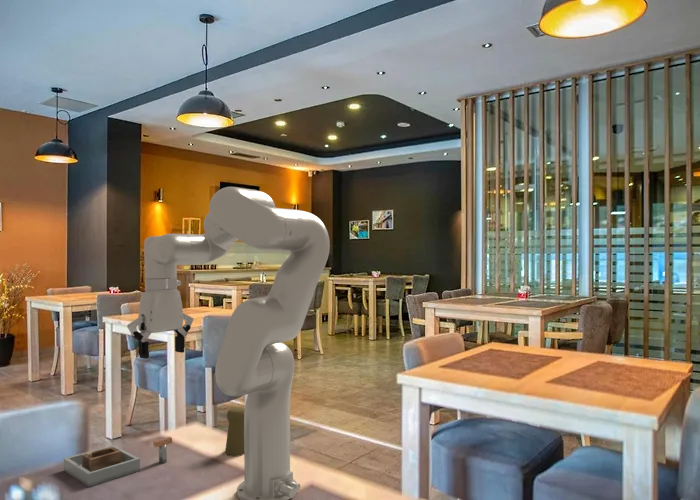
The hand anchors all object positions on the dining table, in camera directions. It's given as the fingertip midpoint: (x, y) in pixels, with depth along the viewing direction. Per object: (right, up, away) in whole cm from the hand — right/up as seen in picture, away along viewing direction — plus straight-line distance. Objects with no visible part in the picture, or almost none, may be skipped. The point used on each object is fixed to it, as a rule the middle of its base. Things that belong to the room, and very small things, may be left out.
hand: (162, 354), depth 131 cm
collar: (-11, -25, -8) cm, 28 cm away
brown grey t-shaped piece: (+1, -25, -3) cm, 26 cm away
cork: (+18, -26, +4) cm, 31 cm away
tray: (-11, -25, -8) cm, 29 cm away
